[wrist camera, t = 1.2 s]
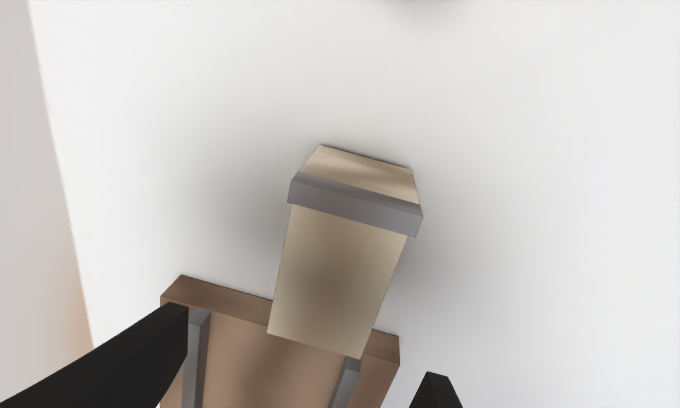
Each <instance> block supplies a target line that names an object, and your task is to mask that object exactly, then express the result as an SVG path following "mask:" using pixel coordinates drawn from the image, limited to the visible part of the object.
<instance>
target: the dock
mask: <svg viewBox="0 0 680 408" xmlns="http://www.w3.org/2000/svg"><path fill="white" fill-rule="evenodd" d="M167 302H173V303H177V304H180V305H184V306H188V307H189V319H188V355H187V357H186V358H185V360H184V362H183V364H182V366H181V368H180V370H179V371H178V373H177V375H176V377H175V378H174V380H173V382H172V384H171V385H170V387H169V389H168V391H167V392H166V394H165V395H164V396H163V398H162V399H161V401H160V408H380V407H381V404H382V402H383V400H384V398H385V396H386V394H387V392H388V390H389V387H390V385H391V383H392V381H393V379H394V377H395V375H396V372H397V370H398V368H399V366H400V353H399V337H397V336H394V335H390V334H387V333H383V332H380V331H376V330H371V333H370V335H369V338H368V340H367V343H366V345H365V348H364V351H363V353H362V356H361V358H360V359H356V358H353V357H349V356H346V355H342V354H339V353H335V352H332V351H328V350H325V349H321V348H318V347H314V346H311V345H307V344H304V343H300V342H297V341H293V340H290V339H286V338H283V337H279V336H276V335H272V334H269V333H267V329H268V324H269V319H270V314H271V309H272V304H273V301H270V300H267V299H263V298H260V297H256V296H253V295H249V294H246V293H242V292H239V291H235V290H232V289H228V288H225V287H221V286H218V285H214V284H211V283H207V282H203V281H200V280H196V279H193V278H189V277H186V276H182V275H180V276H179V277H178V278H177V279H176V280H175V281H174V283H173V284H172V285H171V286H170V287H169V288H168V289H167V290H166V291H165V292H164V293H163V294H162V295H161V296H160V307H161V306H162V305H164V304H166V303H167Z"/></svg>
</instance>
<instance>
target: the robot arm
mask: <svg viewBox="0 0 680 408" xmlns="http://www.w3.org/2000/svg"><path fill="white" fill-rule="evenodd" d="M188 319H189V307H188V306H184V305H180V304H177V303H173V302H167V303H166V304H164V305H162V306H161V307H159V308H158V309H156V310H155V311H153V312H152V313H150V314H149V315H147V316H146V317H144V318H143V319H141V320H139V321H138V322H136V323H135V324H133V325H132V326H130V327H129V328H127V329H126V330H124V331H122V332H121V333H119V334H118V335H116V336H115V337H113V338H111V339H110V340H108V341H107V342H105V343H103V344H102V345H100V346H99V347H97V348H95V349H94V350H92V351H91V352H89V353H87V354H86V355H84V356H83V357H81V358H79V359H78V360H76V361H74V362H72V363H71V364H69V365H67V366H65V367H64V368H62V369H60V370H58V371H57V372H55V373H54V374H52V375H50V376H48V377H47V378H45V379H43V380H41V381H39V382H38V383H36V384H34V385H32V386H31V387H29V388H27V389H25V390H23V391H21V392H20V393H18V394H16V395H14V396H12V397H10V398H8V399H6V400H4V401H3V402H1V403H0V408H156V407H157V405H158V404H159V402H160V401H161V399H162V398H163V396H164V395H165V394H166V392H167V391H168V389H169V387H170V385H171V384H172V382H173V380H174V378H175V377H176V375H177V373H178V371H179V370H180V368H181V366H182V364H183V362H184V360H185V358H186V357H187V355H188ZM409 408H463V407H462V405H461V403H460V401H459V398H458V396H457V394H456V392H455V390H454V388H453V386H452V384H451V382H450V380H449V378H448V377H447V376H443V375H439V374H436V373H432V372H428V371H427V372H426V374H425V376H424V378H423V380H422V382H421V384H420V386H419V388H418V390H417V392H416V394H415V396H414V398H413V400H412V402H411V404H410V406H409Z"/></svg>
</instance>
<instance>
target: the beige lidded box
mask: <svg viewBox="0 0 680 408" xmlns="http://www.w3.org/2000/svg"><path fill="white" fill-rule="evenodd" d="M287 202H288V203H292V207H291V212H290V217H289V223H288V228H287V233H286V238H285V243H284V248H283V253H282V258H281V263H280V268H279V273H278V278H277V283H276V288H275V293H274V298H273V304H272V309H271V314H270V319H269V324H268V329H267V333H269V334H272V335H276V336H279V337H283V338H286V339H290V340H293V341H297V342H300V343H304V344H307V345H311V346H314V347H318V348H321V349H325V350H328V351H332V352H335V353H339V354H342V355H346V356H349V357H353V358H356V359H360V358H361V356H362V353H363V351H364V348H365V345H366V343H367V340H368V338H369V335H370V333H371V330H372V327H373V325H374V322H375V320H376V317H377V314H378V312H379V309H380V307H381V304H382V302H383V299H384V296H385V294H386V291H387V289H388V286H389V283H390V281H391V278H392V276H393V273H394V271H395V268H396V265H397V263H398V260H399V258H400V255H401V252H402V250H403V247H404V245H405V242H406V240H407V237H408V236H410V237H414V238H415V236H416V234H417V231H418V229H419V226H420V224H421V221H422V219H423V214H422V210H421V206H420V202H419V198H418V194H417V190H416V186H415V182H414V178H413V174H412V170H410V169H407V168H403V167H399V166H396V165H392V164H388V163H385V162H381V161H377V160H374V159H370V158H366V157H363V156H359V155H355V154H352V153H348V152H345V151H341V150H337V149H334V148H330V147H326V146H323V145H319V146H318V147H317V149H316V150H315V151H314V152H313V154H312V155H311V156H310V157H309V159H308V160H307V161H306V162H305V164H304V165H303V166H302V167H301V169H300V170H299V171H298V172H297V174H296V175H295V176H294V177H293V179H292V180H291V184H290V189H289V194H288V200H287Z"/></svg>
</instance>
